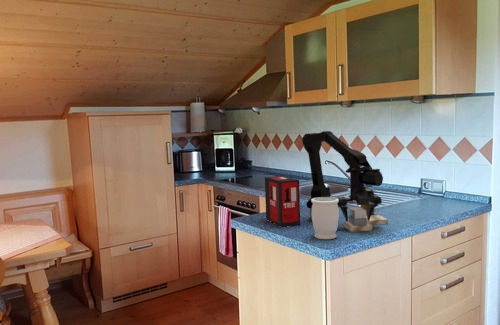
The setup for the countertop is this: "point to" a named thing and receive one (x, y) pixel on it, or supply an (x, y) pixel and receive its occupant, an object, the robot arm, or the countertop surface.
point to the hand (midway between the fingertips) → (357, 221)
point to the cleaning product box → (282, 200)
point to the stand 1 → (357, 227)
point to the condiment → (366, 205)
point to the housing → (357, 216)
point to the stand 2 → (377, 220)
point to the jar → (325, 217)
